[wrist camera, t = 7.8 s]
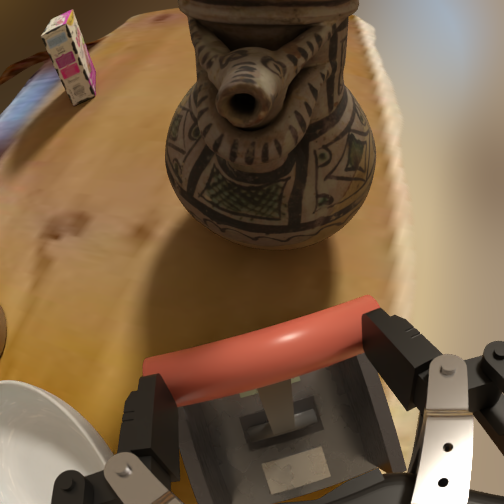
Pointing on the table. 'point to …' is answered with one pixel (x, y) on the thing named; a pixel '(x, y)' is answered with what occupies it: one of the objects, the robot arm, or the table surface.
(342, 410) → the switch box
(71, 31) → the candy bar box
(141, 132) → the table surface
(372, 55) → the table surface
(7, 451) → the serving bowl
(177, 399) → the switch lever
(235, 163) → the decorative pitcher
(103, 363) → the table surface
